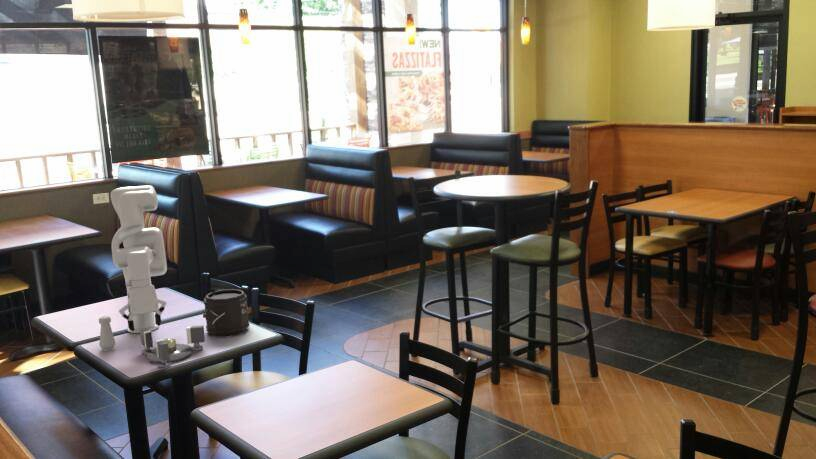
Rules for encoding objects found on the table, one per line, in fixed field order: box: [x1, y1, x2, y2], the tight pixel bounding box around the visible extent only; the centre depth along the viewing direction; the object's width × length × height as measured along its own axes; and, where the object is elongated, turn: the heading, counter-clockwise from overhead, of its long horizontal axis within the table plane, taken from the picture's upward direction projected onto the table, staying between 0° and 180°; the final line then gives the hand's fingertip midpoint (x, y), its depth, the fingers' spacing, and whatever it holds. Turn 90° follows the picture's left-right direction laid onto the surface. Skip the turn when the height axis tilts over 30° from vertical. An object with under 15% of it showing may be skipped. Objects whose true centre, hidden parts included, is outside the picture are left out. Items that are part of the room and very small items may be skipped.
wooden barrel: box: [202, 288, 251, 338], centre depth 301 cm, size 18×18×16 cm
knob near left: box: [185, 324, 206, 347], centre depth 281 cm, size 2×6×8 cm, turn 97°
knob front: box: [155, 338, 170, 364], centre depth 264 cm, size 2×6×8 cm, turn 36°
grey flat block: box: [139, 328, 154, 351], centre depth 278 cm, size 2×6×8 cm, turn 37°
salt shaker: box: [98, 315, 116, 352], centre depth 285 cm, size 6×6×13 cm
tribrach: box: [141, 337, 204, 369], centre depth 272 cm, size 21×23×7 cm
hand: (145, 327), depth 277 cm, fingers open, 9 cm apart
